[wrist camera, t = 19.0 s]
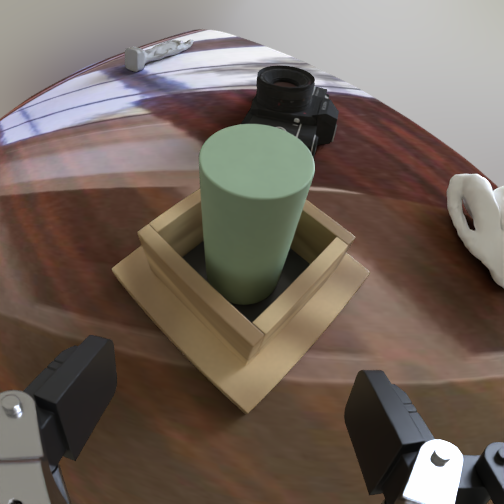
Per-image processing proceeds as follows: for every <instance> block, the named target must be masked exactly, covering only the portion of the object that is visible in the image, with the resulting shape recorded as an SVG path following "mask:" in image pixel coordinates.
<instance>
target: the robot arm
mask: <svg viewBox="0 0 504 504" xmlns="http://www.w3.org/2000/svg"><path fill="white" fill-rule="evenodd" d="M116 386H117V373H116V364H115V353H114V344H113V341H112V340H110V339H106V338H102V337H98V336H94V335H89V336H88V337H87V338H86V339H85V340H84V341H83V342H82V343H81V344H80V345H79V346H72V347H70V348H68V349H66V350H64V351H62V352H61V353H60V354H59V355H58V356H57V357H56V358H55V359H54V361H52V362H51V363H50V364H49V365H48V366H47V368H45V369H44V370H43V371H42V372H41V373H40V374H39V375H38V376H37V377H36V378H35V379H34V380H33V381H32V383H31V384H30V385H29V386H28V387H27V388H26V389H25V390H24V391H19V390H8V391H4V392H2V393H0V504H72V503H71V500H70V497H69V494H68V491H67V488H66V485H65V481H64V478H63V475H62V471H61V468H60V465H59V461H60V460H61V458H62V456H64V457H67V458H69V459H72V460H74V461H76V459H77V457H78V456H79V454H80V452H81V450H82V448H83V447H84V445H85V443H86V441H87V440H88V438H89V436H90V434H91V433H92V431H93V429H94V428H95V426H96V424H97V422H98V421H99V419H100V417H101V416H102V414H103V412H104V411H105V409H106V407H107V406H108V404H109V402H110V400H111V399H112V397H113V395H114V393H115V390H116ZM344 418H345V424H346V427H347V430H348V433H349V435H350V438H351V441H352V444H353V447H354V450H355V453H356V456H357V459H358V462H359V465H360V468H361V471H362V474H363V477H364V480H365V483H366V486H367V489H368V492H369V495H375V494H381V493H383V494H384V497H385V499H384V500H383V502H382V503H381V504H486V503H487V502H488V501H489V500H490V499H492V501H493V503H494V504H504V443H501V442H495V443H491V444H489V445H488V446H487V447H486V449H485V450H484V452H483V453H482V454H481V456H473V455H462V454H461V452H460V450H459V449H458V448H457V447H456V446H454V445H453V444H451V443H449V442H447V441H444V440H435V439H434V437H433V435H432V434H431V432H430V430H429V429H428V427H427V426H426V424H425V422H424V421H423V419H422V418H421V416H420V415H419V413H417V410H416V408H415V407H414V405H412V402H411V401H410V399H409V397H408V396H407V394H406V393H405V392H404V391H402V390H401V389H400V388H399V387H397V386H396V385H395V384H391V383H390V381H389V380H388V378H387V376H386V375H385V373H384V372H383V371H381V370H361V371H359V373H358V374H357V376H356V379H355V382H354V385H353V388H352V391H351V393H350V396H349V399H348V402H347V404H346V407H345V415H344Z"/></svg>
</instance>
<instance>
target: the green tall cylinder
mask: <svg viewBox="0 0 504 504" xmlns="http://www.w3.org/2000/svg"><path fill="white" fill-rule="evenodd" d="M314 171H315V164H314V159H313V156H312V154H311V152H310V150H309V149H308V148H307V146H306V145H305V144H304V143H303V142H302V141H300V140H299V139H298V138H297V137H295V136H294V135H292V134H290V133H288V132H286V131H284V130H282V129H279V128H276V127H272V126H267V125H261V124H241V125H235V126H231V127H227V128H224V129H222V130H220V131H218V132H216V133H215V134H213V135H212V136H210V137H209V138H208V139H207V140H206V141H205V143H204V144H203V146H202V148H201V150H200V154H199V174H200V193H201V209H202V224H203V237H204V250H205V263H206V274H207V279H208V282H209V284H210V285H211V286H212V287H213V288H214V289H215V290H216V291H218V292H219V293H220V294H221V295H222V296H223V297H224V298H225V299H226V300H227V301H228V302H231V303H234V304H241V305H248V304H254V303H257V302H260V301H262V300H264V299H265V298H267V297H268V296H269V295H270V294H271V293H272V292H273V291H274V289H275V288H276V286H277V284H278V281H279V278H280V275H281V272H282V269H283V266H284V263H285V260H286V258H287V255H288V252H289V249H290V246H291V243H292V240H293V237H294V234H295V231H296V228H297V225H298V222H299V219H300V216H301V213H302V210H303V207H304V204H305V201H306V197H307V194H308V191H309V188H310V185H311V182H312V179H313V176H314Z"/></svg>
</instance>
